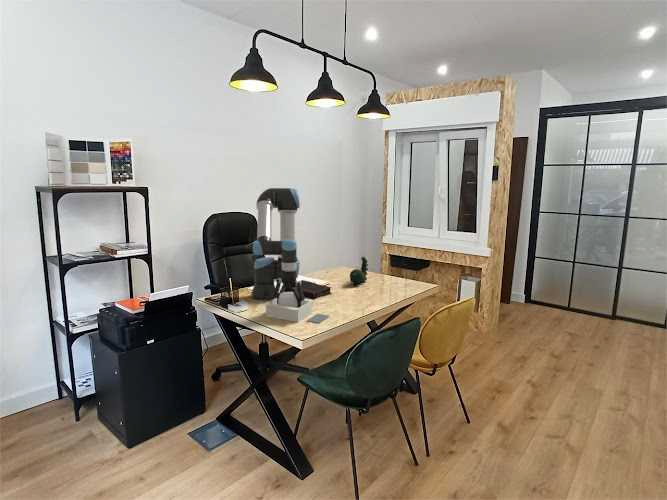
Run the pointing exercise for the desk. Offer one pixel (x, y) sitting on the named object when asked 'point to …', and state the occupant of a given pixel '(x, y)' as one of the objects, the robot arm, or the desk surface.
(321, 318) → the mat
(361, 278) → the toy figurine
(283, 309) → the carton
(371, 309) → the desk surface
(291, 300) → the photo printer
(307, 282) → the diary
